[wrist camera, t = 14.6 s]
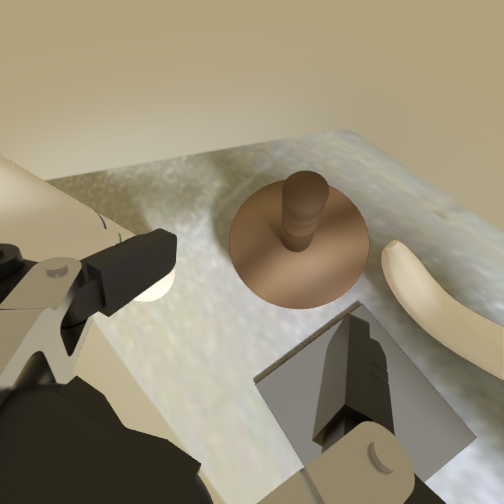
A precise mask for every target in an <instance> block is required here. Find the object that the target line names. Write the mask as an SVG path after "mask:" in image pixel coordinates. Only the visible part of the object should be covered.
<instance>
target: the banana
mask: <svg viewBox="0 0 504 504" xmlns="http://www.w3.org/2000/svg"><path fill="white" fill-rule="evenodd" d="M381 262H382V268H383V272H384V275H385V278H386V280H387V282H388V284H389V286H390V288H391V290H392V292H393V293H394V295H395V297H396V298H397V300H398V301H399V303H400V304H401V305H402V307H403V308H404V309H405V310H406V312H407V313H408V314H409V315H410V316H411V317H412V318H413V319H414V320H415V321H416V322H417V323H418V324H419V325H420V326H421V327H422V328H423V329H424V330H425V331H426V332H428V333H429V334H430V335H431V336H432V337H434V338H435V339H436V340H438V341H439V342H440V343H442V344H443V345H445V346H446V347H447V348H449V349H450V350H452V351H454V352H455V353H457V354H458V355H460V356H461V357H463V358H465V359H466V360H468V361H470V362H471V363H473V364H475V365H477V366H478V367H480V368H482V369H484V370H485V371H487V372H489V373H491V374H493V375H494V376H496V377H498V378H500V379H502V380H504V327H502V326H500V325H498V324H496V323H494V322H492V321H490V320H488V319H486V318H484V317H482V316H480V315H479V314H477V313H475V312H473V311H471V310H470V309H468V308H466V307H465V306H463V305H462V304H460V303H459V302H457V301H456V300H455V299H453V298H452V297H451V296H450V295H449V294H448V293H446V292H445V291H444V290H443V289H442V287H441V286H440V285H439V284H438V283H437V282H436V281H435V279H434V278H433V277H432V276H431V275H430V274H429V272H428V271H427V270H426V268H425V267H424V266H423V264H422V263H421V262H420V260H419V259H418V258H417V257H416V256H415V255H414V254H413V253H412V252H411V251H410V250H409V249H408V248H407V247H406V246H405V245H404V244H403V243H401V242H399V241H398V240H393V241H392V242H390V243H389V244H388V245H387V246H386V247H384V249H383V251H382V256H381Z"/></svg>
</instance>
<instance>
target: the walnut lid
mask: <svg viewBox="0 0 504 504" xmlns="http://www.w3.org/2000/svg"><path fill="white" fill-rule="evenodd" d="M229 248H230V255H231V259H232V263H233V265H234V268H235V270H236V272H237V273H238V275H239V277H240V278H241V280H242V281H243V282H244V283H245V285H246V286H247V287H248V288H249V289H250V290H251V291H252V292H253V293H255V294H256V295H257V296H259V297H260V298H262V299H263V300H265V301H267V302H269V303H271V304H274V305H277V306H280V307H284V308H290V309H309V308H315V307H318V306H322V305H325V304H327V303H330V302H332V301H334V300H336V299H337V298H339V297H341V296H342V295H344V294H345V293H346V292H347V291H348V290H349V289H351V287H352V286H353V285H354V284H355V283H356V282H357V280H358V279H359V277H360V276H361V274H362V272H363V270H364V268H365V265H366V262H367V258H368V252H369V237H368V231H367V227H366V224H365V221H364V219H363V217H362V215H361V213H360V212H359V210H358V209H357V207H356V206H355V205H354V204H353V203H352V201H351V200H350V199H349V198H347V197H346V196H345V195H344V194H343V193H341V192H340V191H338V190H337V189H335V188H333V187H331V186H329V185H328V183H327V181H326V180H325V179H324V178H323V177H322V176H321V175H319V174H318V173H315V172H312V171H299V172H296V173H294V174H292V175H291V176H289V177H288V178H287V179H286V180H282V181H278V182H275V183H272V184H270V185H267V186H265V187H263V188H262V189H260V190H258V191H257V192H255V193H254V194H253V195H252V196H250V197H249V198H248V199H247V200H246V201H245V202H244V204H243V205H242V206H241V208H240V209H239V211H238V212H237V214H236V216H235V218H234V221H233V223H232V227H231V230H230V237H229Z"/></svg>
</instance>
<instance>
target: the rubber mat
mask: <svg viewBox="0 0 504 504" xmlns="http://www.w3.org/2000/svg"><path fill="white" fill-rule="evenodd" d="M350 314H352V315H354V316H357V317H359V318H361V319H363V320H366V321H368V322H369V325H370V338H372V339H374V340H376V341H378V342H379V343H380V345H381V347H382V349H383V351H384V353H385V355H386V361H387V372H388V379H389V382H388V384H389V388H390V397H391V406H392V414H393V423H394V432H395V437H396V438H397V439H398V440H399V442H400V443H401V445H402V446H403V447H404V449H405V451H406V452H407V454H408V456H409V458H410V461H411V464H412V467H413V470H414V473H415V474H416V475H417V476H418V477H419V478H420V479H421V480H422V481H423V482H425V481H426V480H428V479H429V478H430V477H431V476H432V475H434V474H435V473H436V472H437V471H438V470H439V469H441V468H442V467H443V466H444V465H445V464H447V463H448V462H449V461H450V460H451V459H452V458H454V457H455V456H456V455H457V454H458V453H460V452H461V451H462V450H463V449H464V448H466V447H467V446H468V445H469V444H470V443H471V442H473V441H474V440H475V439H476V438H477V437H476V436H475V435H474V434H473V432H472V431H471V430H470V429H469V428H468V427H467V425H466V424H465V423H464V422H463V421H462V420H461V418H460V417H459V416H458V415H457V414H456V413H455V411H454V410H453V409H452V408H451V407H450V405H449V404H448V403H447V402H446V401H445V400H444V398H443V397H442V396H441V395H440V394H439V393H438V391H437V390H436V389H435V388H434V387H433V386H432V384H431V383H430V382H429V381H428V380H427V378H426V377H425V376H424V375H423V374H422V373H421V371H420V370H419V369H418V368H417V367H416V366H415V364H414V363H413V362H412V361H411V360H410V359H409V357H408V356H407V355H406V354H405V353H404V351H403V350H402V349H401V348H400V347H399V346H398V344H397V343H396V342H395V341H394V340H393V339H392V337H391V336H390V335H389V334H388V333H387V332H386V330H385V329H384V328H383V327H382V326H381V324H380V323H379V322H378V321H377V320H376V319H375V317H374V316H373V315H372V314H371V313H370V312H369V310H368V309H367V308H366V307H365V306H364V305H363V304H361V305H360V306H358V307H357V308H356V309H354V310H353V311H352V312H350ZM343 319H344V318H342V319H341V320H340V321H339V322H337V323H336V324H335V325H333V326H332V327H331V328H329V329H328V330H327V331H325V332H324V333H323V334H321V335H320V336H319V337H317V338H316V339H315V340H313V341H312V342H311V343H309V344H308V345H307V346H305V347H304V348H303V349H301V350H300V351H299V352H297V353H296V354H295V355H293V356H292V357H291V358H289V359H288V360H287V361H285V362H284V363H283V364H281V365H280V366H279V367H277V368H276V369H275V370H273V371H272V372H271V373H270V374H268V375H267V376H266V377H264V378H263V379H262V380H260V381H259V382H258V383H256V384H255V386H256V387H257V389H258V391H259V392H260V394H261V395H262V397H263V399H264V400H265V402H266V404H267V405H268V407H269V409H270V410H271V412H272V414H273V415H274V417H275V419H276V420H277V422H278V424H279V425H280V427H281V429H282V430H283V432H284V434H285V435H286V437H287V439H288V440H289V442H290V444H291V445H292V447H293V448H294V450H295V452H296V453H297V455H298V457H299V458H300V460H301V462H302V463H303V465H304V467H306V466H307V465H309V464H310V463H311V462H312V461H314V460H315V459H316V458H317V457H319V456H320V455H321V451H322V446H320V445H319V444H317V443H315V442H314V441H312V436H313V430H314V424H315V417H316V411H317V405H318V399H319V393H320V386H321V380H322V374H323V368H324V362H325V356H326V350H327V347H328V344H329V342H330V340H331V338H332V336H333V335H334V333H335V331H336V330H337V328H338V327H339V325H340V324H341V322H342V320H343Z"/></svg>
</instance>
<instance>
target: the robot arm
mask: <svg viewBox="0 0 504 504" xmlns="http://www.w3.org/2000/svg"><path fill="white" fill-rule="evenodd" d="M176 249H177V237H176V235H175V234H173V233H171V232H168V231H166V230H164V229H161V228H159V229H156V230H154V231H152V232H150V233H148V234H142V235H137V236H133V237H131V238H129V239H126V240H124V242H120V243H117V244H115V246H111V247H108V248H106V249H104V250H102V251H99V252H97V253H95V254H93V255H90V256H88V257H86V258H84V259H81V260H79V261H78V260H77V259H74V258H70V257H56V258H51V259H47V260H44V261H41V262H36V261H31V260H26V259H23V257H22V255H21V252H20V249H19V248H18V247H17V246H15V245H12V244H6V243H0V504H213V501H212V499H211V496H210V494H209V492H208V490H207V488H206V486H205V484H204V483H203V481H202V480H201V478H200V477H199V476H198V473H199V470H200V467H201V463H199V462H198V461H197V460H195V459H194V458H192V457H191V456H190V455H188V454H187V453H185V452H184V451H182V450H181V449H180V448H178V447H177V446H175V445H174V444H173V443H171V442H170V441H168V440H167V439H164V438H159V437H156V436H153V435H149V434H146V433H142V432H139V431H135V430H131V429H128V428H126V427H125V426H124V425H123V424H122V422H121V421H120V419H119V418H118V416H117V415H116V413H115V412H114V410H113V408H112V407H111V405H110V404H109V402H108V401H107V399H106V397H105V396H104V395H103V394H102V393H101V392H99V391H98V390H96V389H95V388H93V387H92V386H91V385H89V384H88V383H86V382H85V381H83V380H82V379H81V378H79V377H78V376H75V377H74V369H75V363H76V361H77V358H78V355H79V353H80V350H81V348H82V345H83V343H84V341H85V338H86V336H87V333H88V331H89V328H90V326H91V323H92V321H93V314H95V313H96V312H98V311H99V312H101V313H102V314H104V315H106V316H108V317H110V316H111V315H112V314H114V313H115V312H116V311H118V310H119V309H121V308H122V307H123V306H125V305H126V304H128V303H129V302H130V301H132V300H133V299H135V298H136V297H137V296H139V295H140V294H141V293H143V292H144V291H146V290H147V289H148V288H150V287H151V286H153V285H154V284H155V283H157V282H158V281H160V280H161V279H162V278H164V277H165V276H166V275H168V274H169V273H170V272H171V271H172V270H173V268H174V266H175V263H176ZM388 382H389V379H388V372H387V361H386V355H385V353H384V351H383V349H382V347H381V345H380V343H379V342H378V341H376V340H374V339H372V338H370V325H369V322H368V321H366V320H363V319H361V318H359V317H357V316H354V315H352V314H350V313H348V314H347V315H346V316H345V317H344V319H343V320H342V322H341V324H340V325H339V327H338V328H337V330H336V331H335V333H334V335H333V336H332V338H331V340H330V342H329V344H328V347H327V350H326V356H325V362H324V368H323V374H322V380H321V386H320V393H319V399H318V405H317V411H316V417H315V424H314V430H313V436H312V441H314V442H315V443H317V444H319V445H320V446H322V451H321V455H320V456H319V457H317V458H316V459H315V460H314V461H312V462H311V463H310V464H309V465H307V466H306V467H305V468H303V469H301V470H299V471H298V472H296V473H295V474H294V475H293V476H291V477H290V478H289V479H287V480H286V481H285V482H284V483H282V484H281V485H280V486H279V487H277V488H276V489H275V490H273V491H272V492H271V493H270V494H268V495H267V496H266V497H265V498H263V499H262V500H261V501H260V502H258V503H257V504H446V503H445V502H444V501H443V500H442V499H441V498H440V497H439V496H438V495H437V494H435V493H434V492H433V491H432V490H431V489H430V488H429V487H428V486H427V485H426V484H425V483H424V482H423V481H422V480H421V479H420V478H419V477H418V476H417V475H416V474H415V473H414V470H413V467H412V464H411V461H410V458H409V456H408V454H407V452H406V451H405V449H404V447H403V446H402V445H401V443H400V442H399V440H398V439H397V438H396V437H395V432H394V423H393V414H392V406H391V397H390V388H389V384H388Z"/></svg>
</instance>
